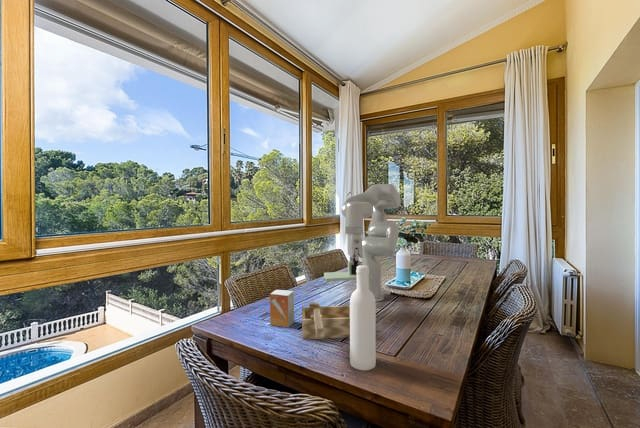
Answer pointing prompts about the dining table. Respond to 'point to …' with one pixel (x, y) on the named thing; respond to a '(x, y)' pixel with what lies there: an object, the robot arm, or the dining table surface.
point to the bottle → (362, 323)
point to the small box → (282, 308)
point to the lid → (343, 275)
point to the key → (318, 324)
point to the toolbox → (326, 321)
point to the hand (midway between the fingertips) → (354, 272)
